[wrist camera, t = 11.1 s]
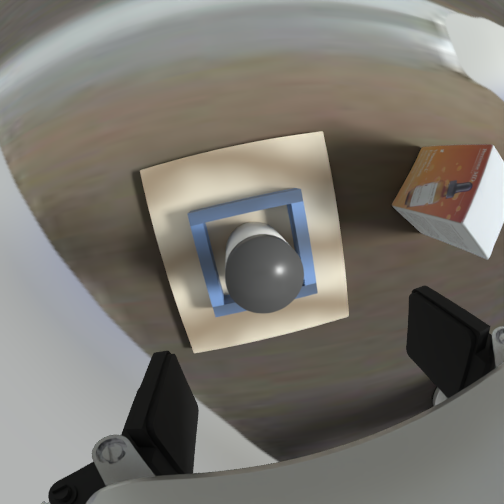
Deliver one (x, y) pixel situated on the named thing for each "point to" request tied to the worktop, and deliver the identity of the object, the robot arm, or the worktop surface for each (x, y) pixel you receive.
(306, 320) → the mount plate
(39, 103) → the worktop surface
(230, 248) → the gray domed white cylinder
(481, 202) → the small box
